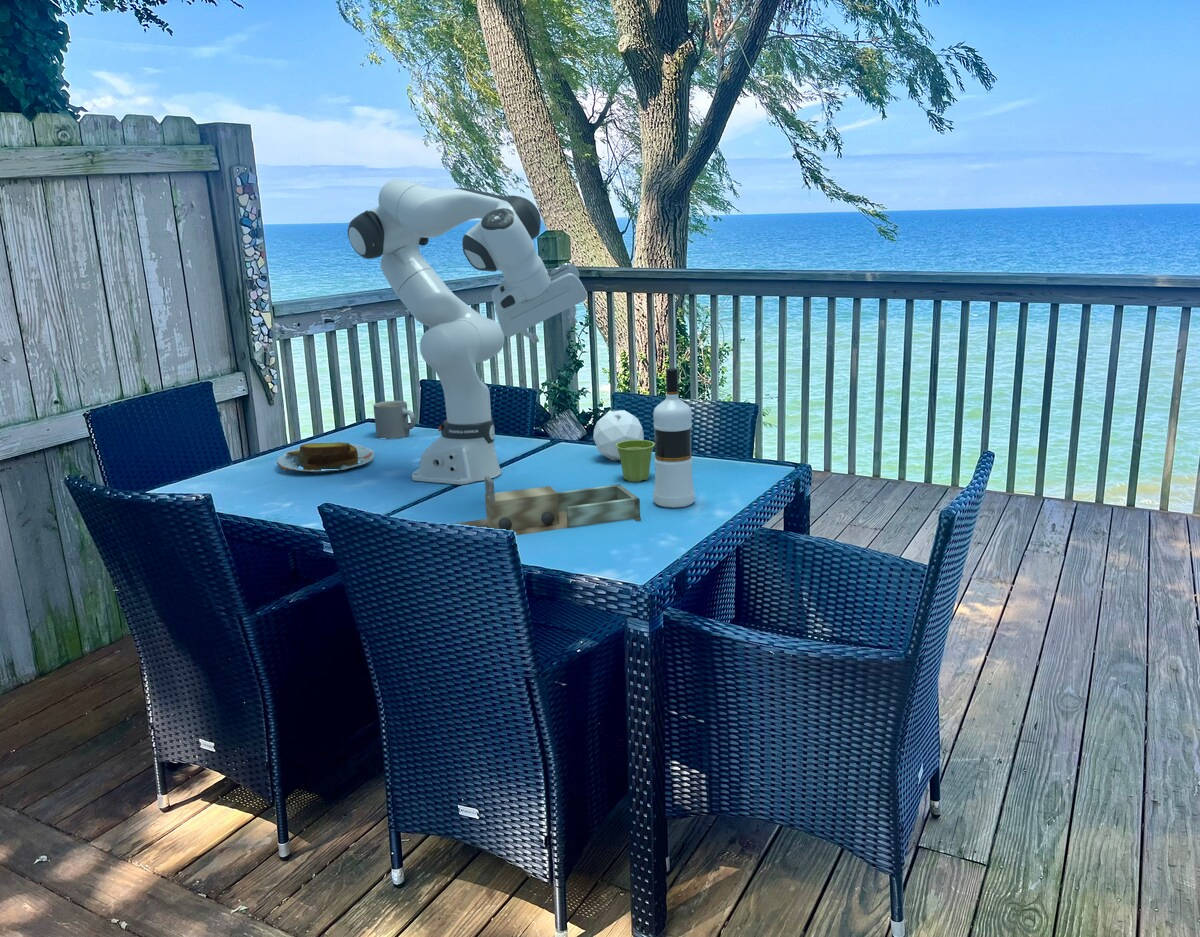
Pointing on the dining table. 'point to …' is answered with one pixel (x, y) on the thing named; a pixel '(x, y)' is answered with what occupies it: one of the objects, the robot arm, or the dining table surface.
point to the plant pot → (635, 459)
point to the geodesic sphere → (616, 432)
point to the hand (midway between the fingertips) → (555, 332)
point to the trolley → (520, 507)
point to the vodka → (673, 448)
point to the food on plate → (325, 457)
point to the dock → (586, 508)
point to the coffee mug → (393, 419)
